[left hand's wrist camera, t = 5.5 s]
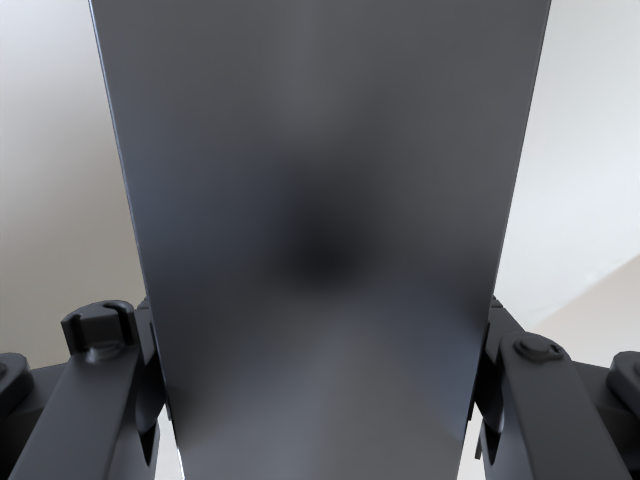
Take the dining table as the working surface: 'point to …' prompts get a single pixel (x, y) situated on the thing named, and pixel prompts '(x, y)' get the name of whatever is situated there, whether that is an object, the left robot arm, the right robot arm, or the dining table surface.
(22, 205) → the dining table surface
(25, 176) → the dining table surface
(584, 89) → the dining table surface
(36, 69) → the dining table surface
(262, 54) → the bar
